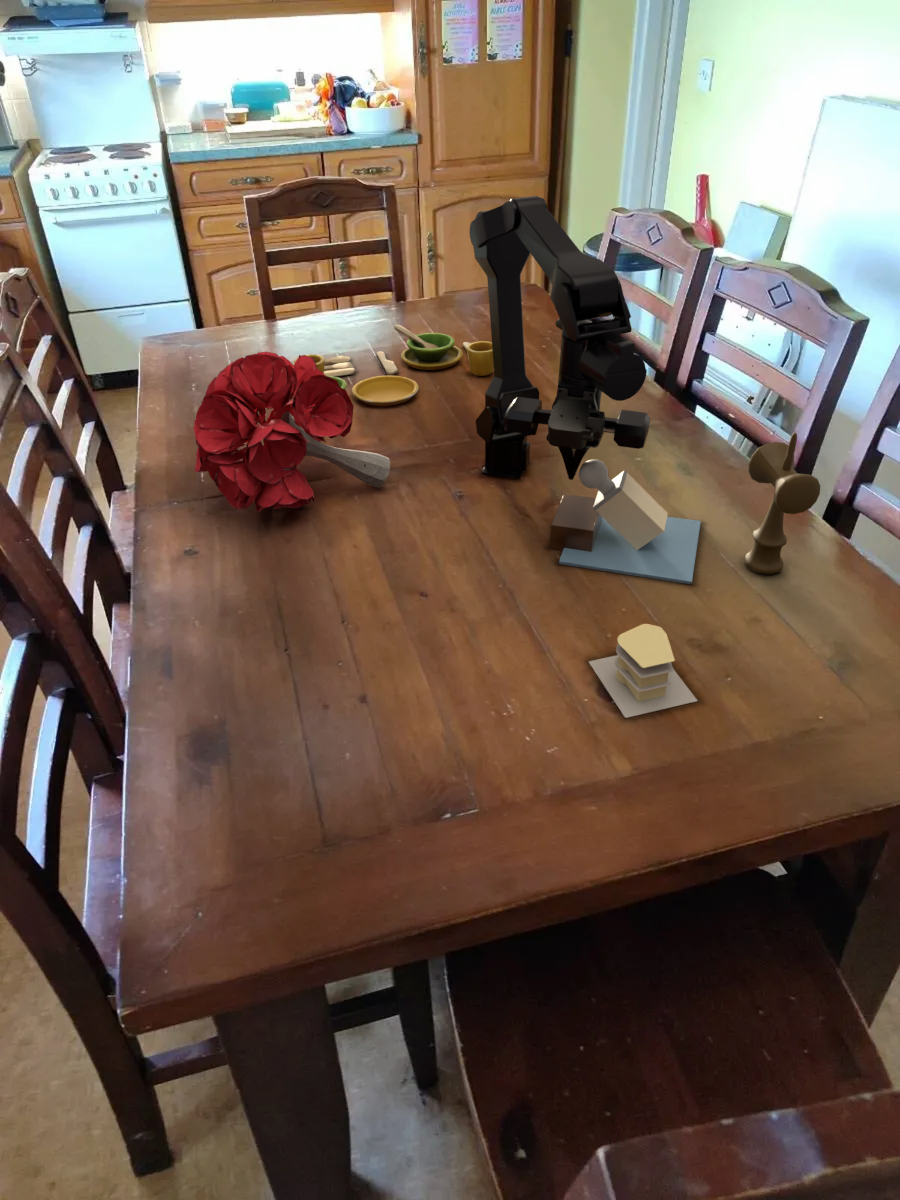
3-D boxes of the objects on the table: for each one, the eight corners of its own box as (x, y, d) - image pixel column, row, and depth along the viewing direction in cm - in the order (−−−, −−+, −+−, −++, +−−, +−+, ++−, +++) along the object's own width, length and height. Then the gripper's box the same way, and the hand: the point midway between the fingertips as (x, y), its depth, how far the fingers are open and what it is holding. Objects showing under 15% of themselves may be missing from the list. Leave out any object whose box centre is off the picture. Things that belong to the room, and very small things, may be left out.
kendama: (770, 545, 122) (802, 414, 110) (798, 585, 114) (836, 448, 102) (729, 548, 121) (756, 417, 109) (754, 588, 113) (787, 451, 101)
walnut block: (549, 548, 122) (550, 524, 120) (561, 516, 129) (563, 493, 126) (591, 554, 121) (593, 530, 118) (601, 522, 127) (604, 499, 125)
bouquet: (343, 490, 150) (172, 432, 136) (405, 374, 139) (225, 298, 125) (362, 565, 134) (170, 508, 120) (433, 441, 123) (230, 362, 109)
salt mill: (561, 526, 122) (580, 465, 115) (568, 508, 125) (586, 449, 119) (654, 556, 120) (678, 496, 113) (658, 537, 124) (682, 478, 117)
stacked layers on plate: (697, 701, 97) (705, 664, 93) (625, 718, 95) (630, 681, 91) (656, 647, 104) (662, 611, 101) (588, 661, 102) (591, 625, 99)
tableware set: (474, 344, 187) (474, 315, 183) (512, 394, 166) (513, 362, 162) (285, 364, 180) (281, 335, 176) (299, 419, 158) (294, 387, 154)
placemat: (558, 564, 119) (559, 561, 119) (579, 507, 131) (579, 504, 131) (691, 584, 114) (692, 581, 114) (700, 523, 127) (700, 520, 126)
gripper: (494, 386, 106) (491, 496, 116) (646, 404, 102) (630, 517, 111) (516, 354, 115) (512, 459, 124) (657, 370, 110) (641, 478, 120)
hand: (571, 478), depth 119 cm, fingers closed
